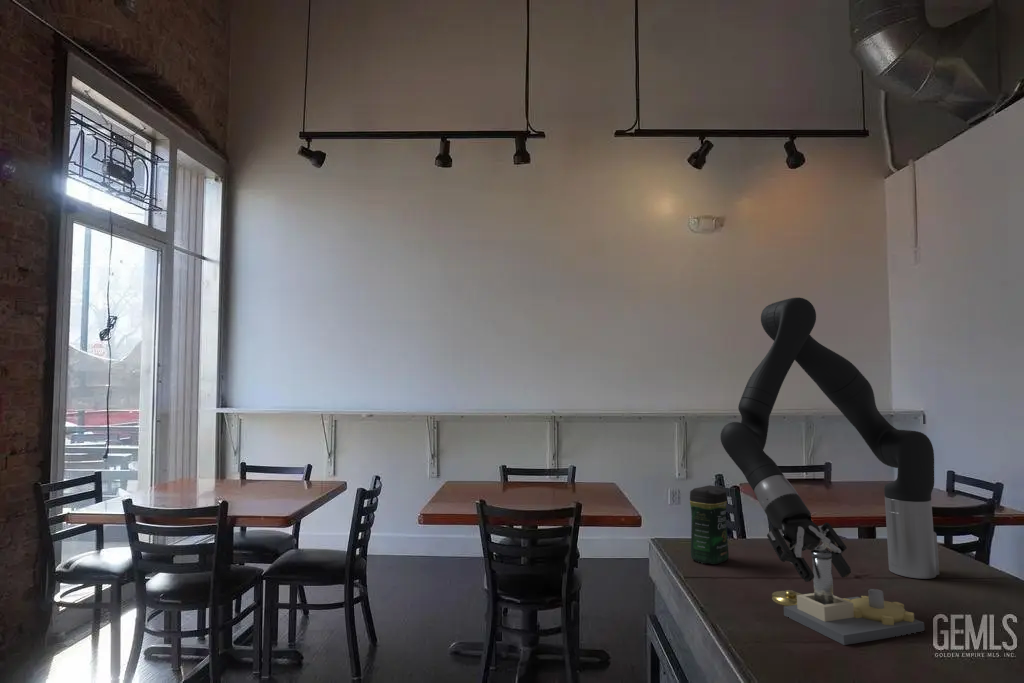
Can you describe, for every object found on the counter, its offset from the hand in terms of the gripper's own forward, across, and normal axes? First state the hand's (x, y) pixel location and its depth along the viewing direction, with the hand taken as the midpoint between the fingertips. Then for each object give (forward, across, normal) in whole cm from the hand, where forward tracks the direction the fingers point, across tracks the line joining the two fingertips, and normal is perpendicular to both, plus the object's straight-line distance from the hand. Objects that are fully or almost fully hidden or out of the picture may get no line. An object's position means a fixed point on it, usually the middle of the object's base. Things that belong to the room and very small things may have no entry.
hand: (829, 577), depth 109 cm
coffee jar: (-24, +4, +36) cm, 43 cm away
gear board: (+6, +4, +6) cm, 9 cm away
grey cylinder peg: (+4, 0, +6) cm, 7 cm away
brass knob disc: (-3, +2, +15) cm, 15 cm away
